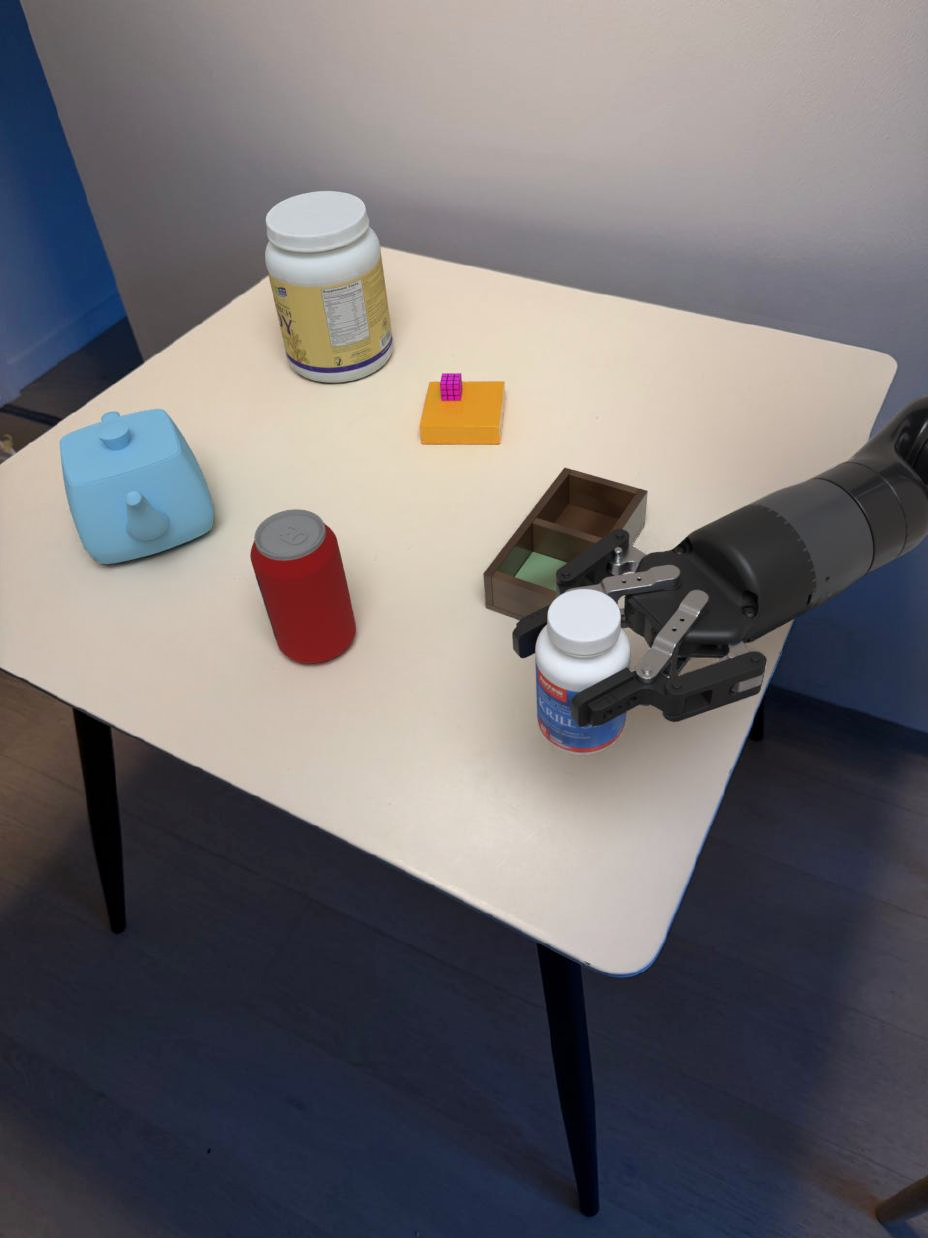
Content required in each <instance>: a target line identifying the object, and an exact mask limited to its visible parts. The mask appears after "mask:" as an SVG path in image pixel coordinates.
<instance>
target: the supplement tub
mask: <svg viewBox="0 0 928 1238" xmlns="http://www.w3.org/2000/svg"><path fill="white" fill-rule="evenodd" d="M265 226H266V237H267V239H268V242H267V244H266V247H265V252H264V260H265V267H266V270H267V274H268V279H269V282H270V283H269V284H270V287H271V293H272V297H273V302H274V306H275V311H276V314H277V319H278V324H279V328H280V333H281V338H282V342H283V346H284V350H285V355H286V356H285V357H286V359H287V361H288V363H289V365H290V366H291V368H292V369H293V370H294V371H295V372H296V373H297V374H299V375H300V376H302V377H303V378H305V379H307V380H310V381H314V382H319V383H328V384H329V383H330V384H331V383H333V384H334V383H336V384H337V383H346V382H347V383H348V382H352V381H356V380H360V379H363V378H365V377H368V376H369V375H371V374H374V373H375V372H377V371H378V370H379V369H381V368H382V367H383V366H384V365H385V364H386V363H387V362H388V361H389V359H390V358H391V355H392V353H393V349H394V337H393V332H392V325H391V317H390V316H391V315H390V310H389V303H388V294H387V288H386V280H385V272H384V271H385V270H384V265H383V258H382V257H383V256H382V247H381V244H380V239H379V238H378V235H377V234H376V232H375V231H374V229H373V228H372V227H371V226H370V219H369V216H368V213H367V208H366V205H365V203H364V201H363V200H362V199H361V198H359V197H357V196H356V195H354V194H351V193H348V192H344V191H335V190H320V191H310V192H305V193H300V194H296V195H294V196H291V197H288V198H286V199H284V200H282V201H280V202H278V203H277V204H275V205H274V206H273V207H271V209H270V210H269V211H268V212H267V213H266V216H265Z"/></svg>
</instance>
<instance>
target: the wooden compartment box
mask: <svg viewBox="0 0 928 1238" xmlns="http://www.w3.org/2000/svg"><path fill="white" fill-rule="evenodd" d="M648 492H649V491H648V490H647V489H643V488H639V487H636V486H631V485H628V484H624V483H622V482H617V481H614V480H611V479H607V478H604V477H600V476H598V475H597V476H596V475H594V474H589V473H587V472H583V471H579V470H575V469H572V468H569V467H563V468H562V470H561V471H560V473H559V474H558V475H557V477H555V478H554V481H553V482H552V483H551V484H550V486H549V487H548V488H547V489H546V491H545V492H544V493H543V495H542V496H541V497H540V499H539V500H538V501H537V503H536V504H535V505H534V506H533V508H532V509H531V510H530V512H529V513H528V514H527V516H526V517H525V519H524V520H523V521H522V522H521V524H519V526H518V527H517V529H516V530H515V531H514V533H513V534H512V535H511V537H510V538H509V539H508V540H507V542H506V543H505V544H504V546H503V547H502V548H501V549H500V551H499V552H498V554H497V555H496V556H495V558H493V559H492V562H491V563H490V564H489V565H488V566H487V568H486V569H485V571H484V572H483V573H482V575H483V591H484V600H485V602H484V603H485V604H484V605H485V608H486V609H487V610H489V611H493V612H496V613H499V614H501V615H504V616H508V617H510V618H513V619H515V620H518V621H520V619H521V618H523V617H525V616H527V615H530V614H531V613H533V612H536V611H538V610H540V609H542V608H544V607H546V606H548V605H550V604H552V602H553V601H554V600H555V599H556V572H557V570H558V569H559V568H561V567H562V566H564V565H565V564H567V563H568V562H569V561H571V560H572V559H574V558H575V557H576V556H578V555H579V554H581V553H582V552H584V551H585V550H586V549H588V548H589V547H591V546H592V545H593V544H595V543H596V542H598V541H599V540H601V539H602V538H603V537H605V536H606V535H608V534H609V533H610V532H612V531H613V530H616V529H623V530H626V531H627V532H628V533H629V544H630V545H632V546H633V545H634V544H635V542H636V540H638V537H639V536H640V534H641V533H642V532H643V529H644V528H645V526H646V518H647V505H648V494H649V493H648Z"/></svg>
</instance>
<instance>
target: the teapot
mask: <svg viewBox="0 0 928 1238" xmlns="http://www.w3.org/2000/svg"><path fill="white" fill-rule="evenodd" d="M100 420H101V421H99V422H96V423H93V424H90V425H87V426H84V427H81V428H78V429H76V430H73V431H71V432H69V433H67V434H65V435H63V436H62V437H61V438H60V440H59V453H60V462H61V469H62V470H61V471H62V478H63V485H64V491H65V495H66V500H67V504H68V507H69V511H70V514H71V517H72V518H71V519H72V520H73V523H74V526H75V529H76V531H77V535H79V536H78V537H79V539H80V541H81V544H82V547H83V548H84V550H85V551H86V552H87V554H88V555H90V557H91V558H92V559H94V560H95V561H96V562H97V563H99V564H102V565H111V564H117V563H123V562H130V561H132V560H136V559H140V558H144V557H147V556H148V557H149V556H151V555H155V554H159V553H162V552H165V551H167V550H170V549H173V548H175V547H178V546H180V545H182V544H186V543H189V542H191V541H193V540H194V539H197V538H199V537H201V536H203V535H205V534H206V533H209V531H211V530H212V528H213V525H214V517H215V509H214V508H215V507H214V503H213V500H212V495H211V492H210V489H209V486H208V483H207V480H206V477H205V475H204V473H203V471H202V469H201V466H200V464H199V462H198V460H197V458H196V456H195V454H194V453H193V450H192V449H191V447H190V445H189V443H188V441H187V440H186V438H185V436H184V435H183V433H182V432H181V430H180V428H179V427H178V425H177V424H176V423H175V421H174V420H173V418H171V416H170V415H169V414H168V412H167V411H166V410H165V409H163V408H162V409H161V408H152V409H151V408H150V409H146V410H141V411H135V412H132V413H128V414H124V415H121V414H120V412H118V411H114V410H113V411H108V412H106V413H104V414H103V415H102V416H101V417H100Z"/></svg>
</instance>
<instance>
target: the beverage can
mask: <svg viewBox="0 0 928 1238" xmlns="http://www.w3.org/2000/svg"><path fill="white" fill-rule="evenodd" d="M253 538H254V540H253V543H252V545H251V548H250V555H249V557H250V562H251V566H252V569H253V572H254V575H255V580H256V582H257V586H258V589H259V593H260V595H261V598H262V602H263V605H264V608H265V611H266V615H267V618H268V620H269V624H270V627H271V630H272V633H273V636H274V639H275V642H276V645H277V647H278V649H279V651H280V652H281V653H282V654H283V655H284V656H285V657H286V658H288V659H290V660H292V661H295V662H297V663H302V664H303V663H304V664H316V663H322V662H326V661H330V660H331V659H332V660H333V659H334V658H336V657H337V656H339V655H341V654H342V653H343V652H344V651H346V650H347V649H348V648H349V647H350V645H352V643H353V641H354V639H355V636H356V632H357V625H356V624H357V623H356V619H355V615H354V614H355V613H354V609H353V603H352V600H351V594H350V590H349V586H348V581H347V577H346V572H345V568H344V563H343V559H342V555H341V551H340V546H339V541H338V539H337V536H336V533H335V532H334V531H333V529H332V528H331V527H330V526H328V525H327V524H326V523H325V522H324V521H323V519H322V518H321V516H319V515H318V514H317V513H315V512H313V511H310V510H306V509H300V508H299V509H298V508H294V509H293V508H292V509H286V510H282V511H279V512H276V513H274V514H272V515H270V516H268V517H267V518H265V519H263V521H262V522H261V523H260V524H259V525H258V527H256V529H255V532H254V537H253Z"/></svg>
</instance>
